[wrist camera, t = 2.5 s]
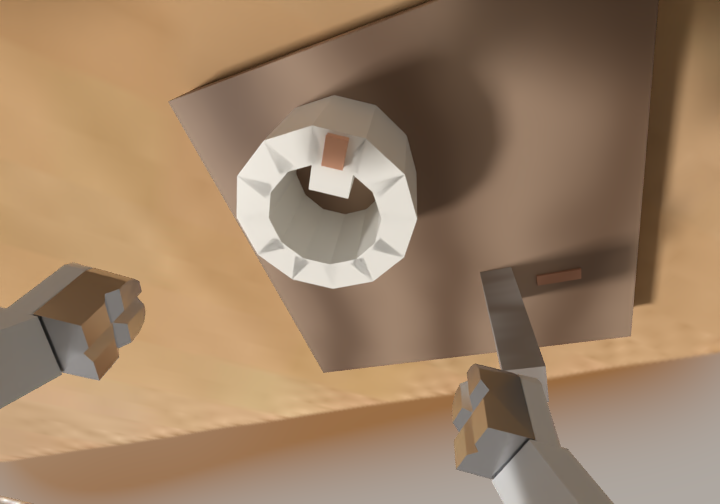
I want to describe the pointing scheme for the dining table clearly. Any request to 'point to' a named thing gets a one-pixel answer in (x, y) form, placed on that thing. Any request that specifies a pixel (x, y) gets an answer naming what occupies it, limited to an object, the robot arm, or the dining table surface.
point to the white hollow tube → (335, 177)
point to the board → (470, 174)
